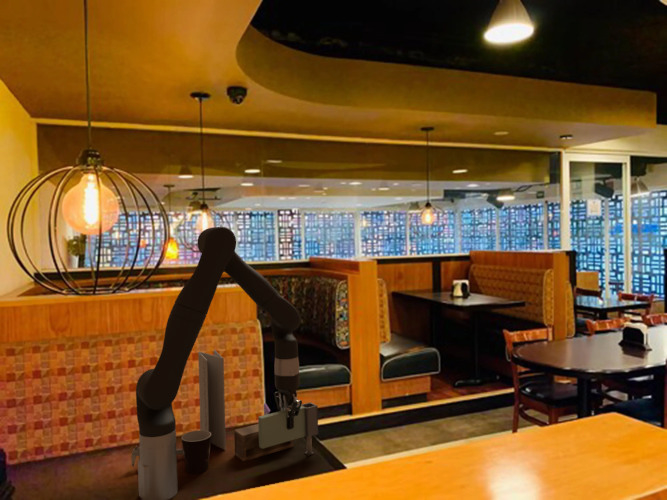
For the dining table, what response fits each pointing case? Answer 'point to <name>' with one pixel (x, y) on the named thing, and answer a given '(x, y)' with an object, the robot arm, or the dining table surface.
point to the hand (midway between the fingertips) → (288, 427)
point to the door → (276, 426)
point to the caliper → (137, 453)
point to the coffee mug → (196, 451)
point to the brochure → (212, 397)
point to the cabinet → (250, 447)
